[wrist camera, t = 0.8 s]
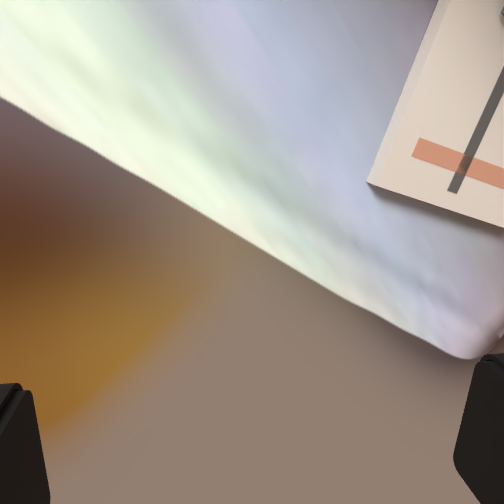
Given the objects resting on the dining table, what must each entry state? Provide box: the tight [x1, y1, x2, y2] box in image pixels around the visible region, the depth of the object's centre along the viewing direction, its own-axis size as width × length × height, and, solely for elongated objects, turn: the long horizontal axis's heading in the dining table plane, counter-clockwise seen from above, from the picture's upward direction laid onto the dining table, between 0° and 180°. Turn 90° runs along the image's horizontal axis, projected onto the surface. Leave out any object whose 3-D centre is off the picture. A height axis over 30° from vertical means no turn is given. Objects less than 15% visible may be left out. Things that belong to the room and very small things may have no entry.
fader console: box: [366, 0, 504, 228], centre depth 35 cm, size 20×14×2 cm
